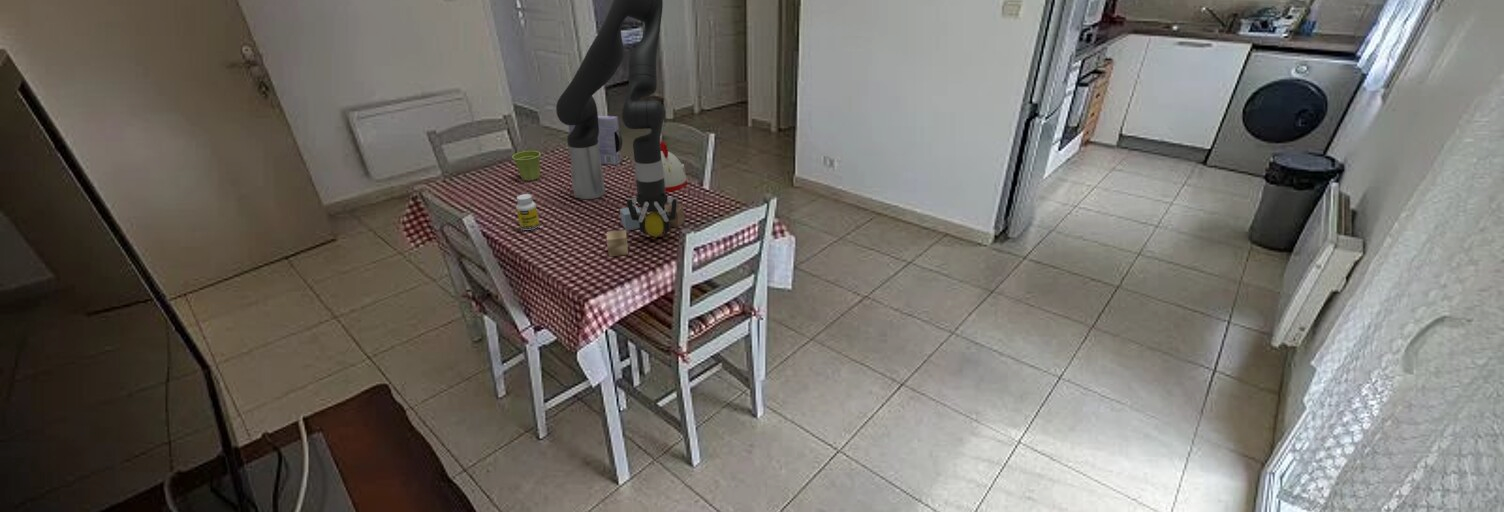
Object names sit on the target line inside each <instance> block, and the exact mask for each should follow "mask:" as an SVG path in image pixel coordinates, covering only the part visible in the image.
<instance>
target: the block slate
mask: <svg viewBox="0 0 1504 512" xmlns="http://www.w3.org/2000/svg"><path fill="white" fill-rule="evenodd" d="M635 208H636V211H637V214H638V215H640V214H641V212H642V210H641V209H639V207H638V205H635ZM619 213H620V218H621V219H620V220H621V225H622V227H623V228H624V230H626V232H627V231H632V230H637V229H640V226H639V221H637V220H632V218H631V215H630V211H629V208H628V207H624V208H620V209H619Z"/></svg>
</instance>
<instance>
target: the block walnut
mask: <svg viewBox="0 0 1504 512" xmlns="http://www.w3.org/2000/svg"><path fill="white" fill-rule="evenodd" d="M666 204H667V203H666ZM666 204H665V205H664V206H665V208H666V210H667V212H668V214H671V209H672V206H671V205H670V204H669V203H668V204H667V205H666ZM684 210H685V208H684V205H680V204H677V209H676V216H675V219H674V220H670V228H673V227H674V229H679V228H680V227H681V226H682V225H683V223H684V222H685V211H684Z"/></svg>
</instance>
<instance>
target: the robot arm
mask: <svg viewBox="0 0 1504 512" xmlns="http://www.w3.org/2000/svg"><path fill="white" fill-rule="evenodd" d="M663 4H664V2H663V0H613V1H612V3H611V5H610V9H609V11H608V12H607V15H606V17H605V19H604V22H603V24H602V25H601V28H600V29H599V31H598V33H597V35H596V36H595V38H594V40H593V42H592V43H591V44H590V46H589V48H588V50H587V51H586V53H585V56H584V58H583V60H582V62H581V63H580V66H579V67H578V69H577V70H576V73H575V74H574V76H573V78H572V80H571V81H570V83H569V84H568V86H567V87H566V88H565V90H564V91H563V92H562V94H561V95H560V96H559V98H558V99H557V102H556V107H555V110H556V116H557V119H559V122H560V123H562V124H564V125H566V126H569V125H575V127H574V129H573V130H572V132H571V133H569V134H568V136H567V145H568V152H569V157H570V158H569V159H570V163H571V169H570V175H571V182H572V189H573V194H574V198H578V199H581V200H594V199H598V198H602V197H603V196H605V195H606V187H605V182H604V181H605V180H604V175H603V167H602V164H601V159H600V152H599V145H598V135H599V125H598V116H599V114H598V107H597V103H596V101H595V98H594V97H593V96H594V95H595V94H596V93H597V92H598V91H599V90H600V89H601V88H603V87H604V86H605V85H606V84H607V83H608V82H609V81H610V80H611V79H612V78H613V77H614V75H615V74H616V72H617V71H618V69H619V68H620V65H621V64H622V63H623V60H624V54H625V53H624V52H625V51H624V43H623V37H622V26H623V23H624V21H625V19H626V18H628V17H629V18H632V19H634V20H637V21H640V22H641V23H643V24H644V33H643V36H642V38H641V39H640V40H639V42H638V43H637V45H636V46H635V47H634V49H633V50H632V52H631V54H630V57H629V59H628V60H629V61H628V88H627V93H626V97H625V99H624V103H623V105H622V106H623V107H622V111H621V118H622V119H621V120H622V121H623V124H624V126H625V127H626V128H628V129H630V130H645V129H647V130H649V129H651V131H650V132H649V133H647V134H644V135H641V136H639V137H635V138H634V139H633V142H632V148H633V149H632V150H633V159H634V175H635V182H636V183H635V184H636V192H637V196H636V197H631V196H629V197H628V198H627V201H626V205H627V208H629V211H630V215H631V218H632V220H637V221H639V226H640V228H639V231H640V232H641V233H642V235H647V231H646V229H645V218H646V213H651V212H652V211H654V212H658V213H659V214H660V215H661V216H662V217H663V219H664V231H663V232H664V235H668V233H669V232H670V230H671V227H670V220H674V219H675V216H676V209H677V205H678V199H679V198H678V197H677V196H673V197H671V196H668V194H667V192H665V181H664V170H663V164H662V159H661V149H660V143H661V136H662V131H663V130H662V128H663V125H664V124H663V123H664V120H665V108H664V106H663V104H662V103H661V102H660V101H659V100H656V99H649V100H644V99H643V100H641V99H642V98H644V97H648V96H650V95H653V94H654V93H656V91H657V88H658V87H657V86H658V85H657V84H658V83H657V82H658V81H657V77H658V76H657V54H658V46H659V45H658V44H659V41H660V40H659V39H660V32H661V23H662V18H663V16H662V15H663V8H664V7H663ZM667 202H668V204H669V205H671V206H672V209H671V214H668V212H667V210H666V208H665V206H666V204H667ZM637 204H638V205H639V206H640V207H641V208H642V209H641V214H640V215H638V214H637V211H636V208H635V206H637Z"/></svg>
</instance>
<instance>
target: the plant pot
mask: <svg viewBox="0 0 1504 512" xmlns="http://www.w3.org/2000/svg"><path fill="white" fill-rule="evenodd" d="M511 158H512V159H513V160H514V163H515V164H516V166H517V169H518V172H519V175H520V177H521V180H522V181H524V180H533V181H534V179H535V180H536V179H537V180H539V179H540V178H539V177H541V169H540V158H541V152H540V151H537V150H525V151H520V152H517V153H515V154H513V155H512V156H511ZM538 178H539V179H538Z"/></svg>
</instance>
